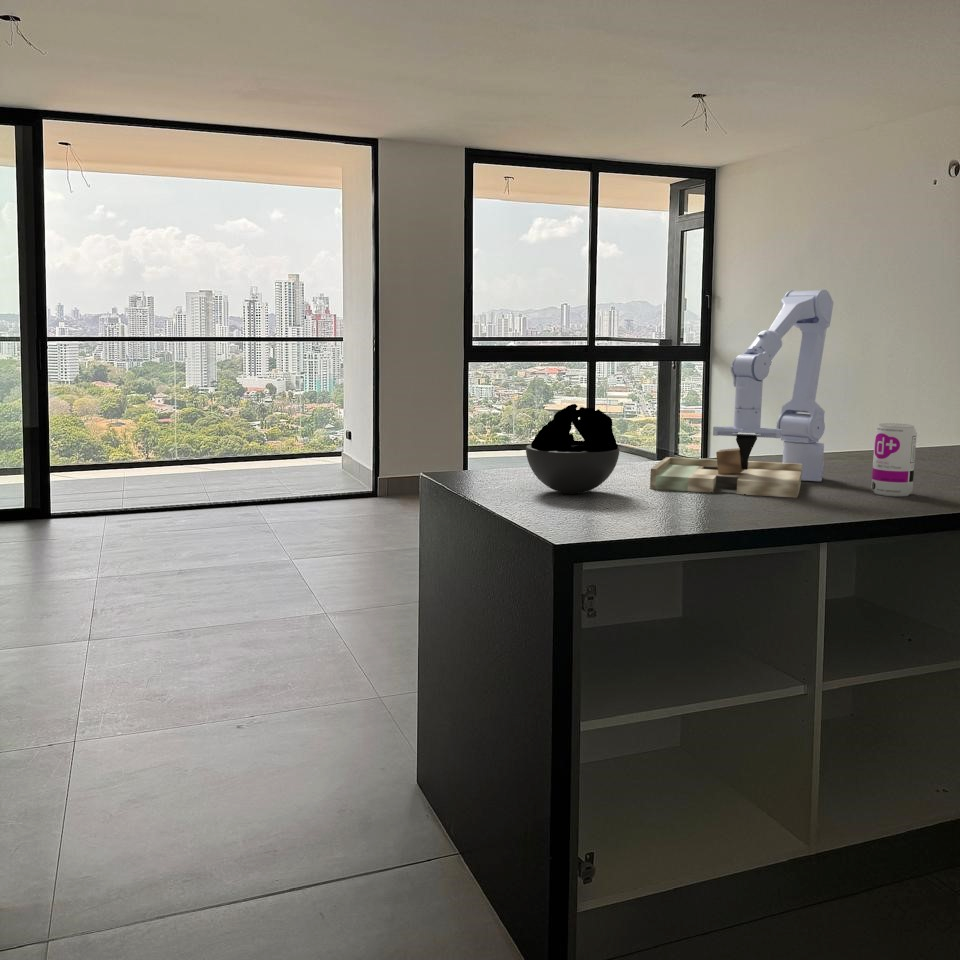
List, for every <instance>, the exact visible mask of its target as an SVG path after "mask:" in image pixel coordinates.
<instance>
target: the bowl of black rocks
mask: <svg viewBox="0 0 960 960" xmlns="http://www.w3.org/2000/svg"><path fill="white" fill-rule="evenodd" d="M578 407H579V409H578ZM552 418H553V419H552V420H549V421H548V423H547V424H545V425H543V426H542V427H541V429H539V431H538V432H537V434H536V435H535V437H534V439H533V440H532V441H531V443H530V444H528V445H526V446H525V454H526V455H525V456H526V458H527V463H528V465H529V468H530V470H531V471H532V472H533V474H534V476H536V478H537V479H538V480H539V481H540V482H541V483H542V484H544V485H545V486H546V487H547V488H550V489H551V490H553V491H556V492H558V493H563V494H568V495H569V494H571V495H573V494H574V495H576V494H583V493H587V492H589V491H591V490H594V489H596V488H597V487H599V486H600V485H602V484H603V483H604V482H605V481H607V479H609V477H610V475H612V472H613V471H614V470H615V468H616V465H617V463H618V461H619V456H620V452H621V451H620V449H621V448H620V447H619V445H618V444H617V443H618V442H617V439H616V438H615V435H614V432H613V431H614V430H613V419H612V418H611V417H610V416H609V415H608V414H606V413H605V412H603V411H602V410H600V409H596V410H595V408H594V407H584V406H578V404H576V403H572V404H570V405H568V406H566V407H564V408H562V409H559V410H557V411H556V412H555V414H554V415H553V417H552ZM572 425H573V426H574V428H575V429H576V431H577V432H578V433H579V434H580V436H581V437H582V439H583V440H575V437H574V434H573V433H570V432H571V430H572Z"/></svg>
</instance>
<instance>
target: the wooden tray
mask: <svg viewBox="0 0 960 960" xmlns="http://www.w3.org/2000/svg"><path fill="white" fill-rule="evenodd" d="M801 472H802V464H796V463H783V462H772V461H757V460H756V461H755V460H754V461H752V460H748V469H747V470H744V471H743V472H741V473H728V474H718V465H717V459H711V458H690V457H673V456H672V457H671V456H670V457H669V456H665V457H664V458H662V460H660V461H659V462H658V463H656V464H655V465H654V466H652V467H651V468H650V477H649V478H650V481H649V483H650V484H649V489H650V490H664V491H678V492H679V491H682V492H695V493H696V492H697V493H711V492H712V493H714V494H715V493H716V494H728V493H729V494H730V495H744V494H746V495H747V496H764V497H765V496H766V497H781V498H794V499H795V498H798V496H799V493H800V488H801V484H802V480H801ZM729 494H728V495H729ZM746 495H745V496H746Z"/></svg>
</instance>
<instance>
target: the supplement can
mask: <svg viewBox="0 0 960 960" xmlns="http://www.w3.org/2000/svg"><path fill="white" fill-rule="evenodd" d="M917 437H918V432H917V430H916V429H915V425H914V424H909V423H908V424H907V423H895V422H894V423H891V422H890V423H887V422H886V423H879V424H878V426H877V428H876V430H875V431H874V442H873V444H874V445H873V457H872V460H873V461H872V472H871V473H872V474H871V485H870V486H871V491H873V493H874V494H876V495H879V496H886V497H909V496H910V494H912V493H913V487H914V476H915V462H916V448H917V446H916V445H917Z"/></svg>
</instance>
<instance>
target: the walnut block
mask: <svg viewBox="0 0 960 960" xmlns="http://www.w3.org/2000/svg"><path fill="white" fill-rule="evenodd" d="M715 453H716V460H717V465H718V474H728V473H741V472H743V471H744V469H742V466H743V458H742V455H741V451H740V449H739V447H738V448H727V449H724V448H723V449H719V450H718V451H716V452H715Z"/></svg>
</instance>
